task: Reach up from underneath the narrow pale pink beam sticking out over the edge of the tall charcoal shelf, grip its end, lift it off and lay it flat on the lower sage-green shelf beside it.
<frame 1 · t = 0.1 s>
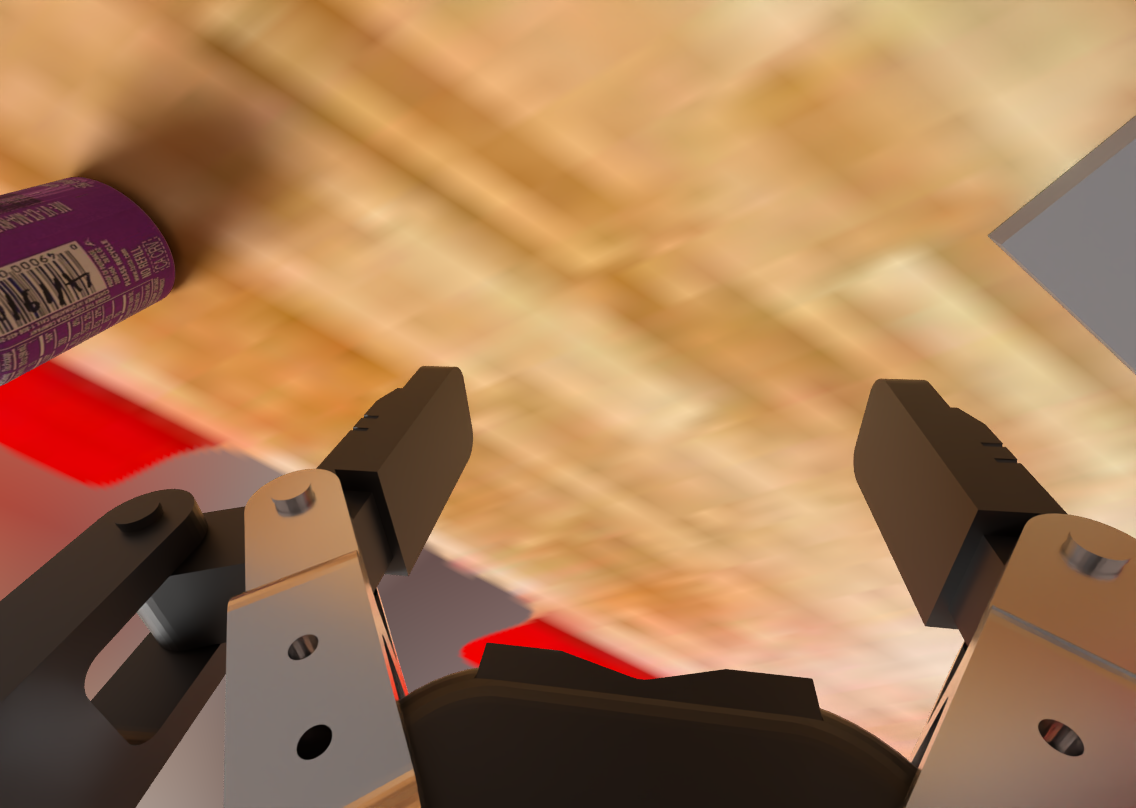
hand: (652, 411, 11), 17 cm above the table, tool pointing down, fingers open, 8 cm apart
beverage can: (126, 238, 31), on the table
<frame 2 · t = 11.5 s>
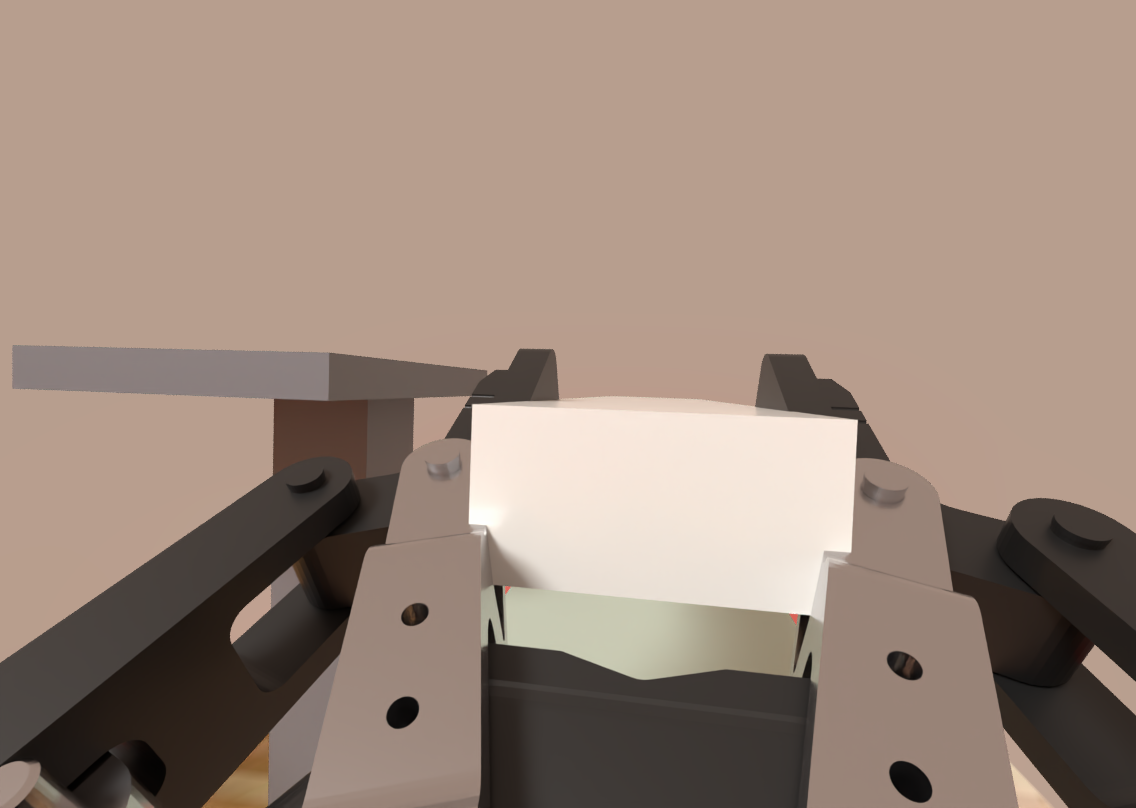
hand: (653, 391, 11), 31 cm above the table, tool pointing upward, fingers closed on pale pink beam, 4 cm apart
pale pink beam: (651, 468, 17), point 29 cm above the table, touching gripper
when the fingers open (26 cm above the table, at t = 13.2 s): pale pink beam drops 1 cm, resting on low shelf.
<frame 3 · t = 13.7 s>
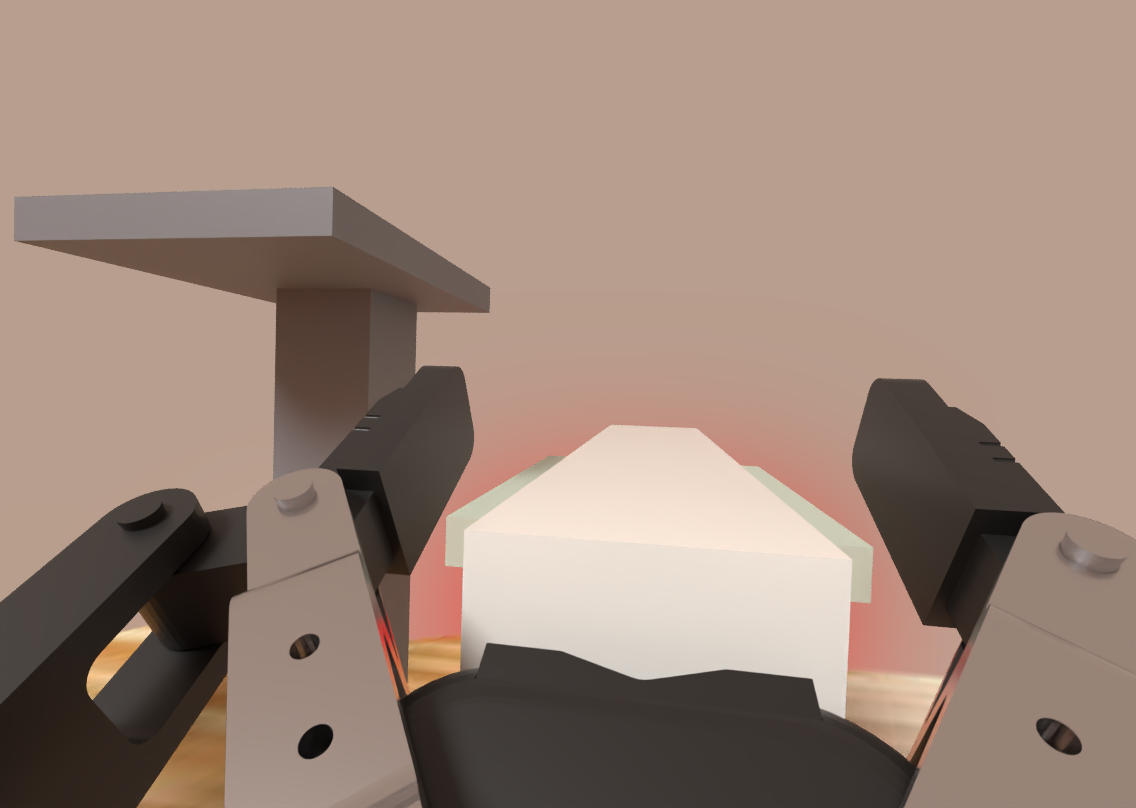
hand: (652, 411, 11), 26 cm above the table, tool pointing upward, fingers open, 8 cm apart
pale pink beam: (649, 516, 17), point 22 cm above the table, touching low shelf
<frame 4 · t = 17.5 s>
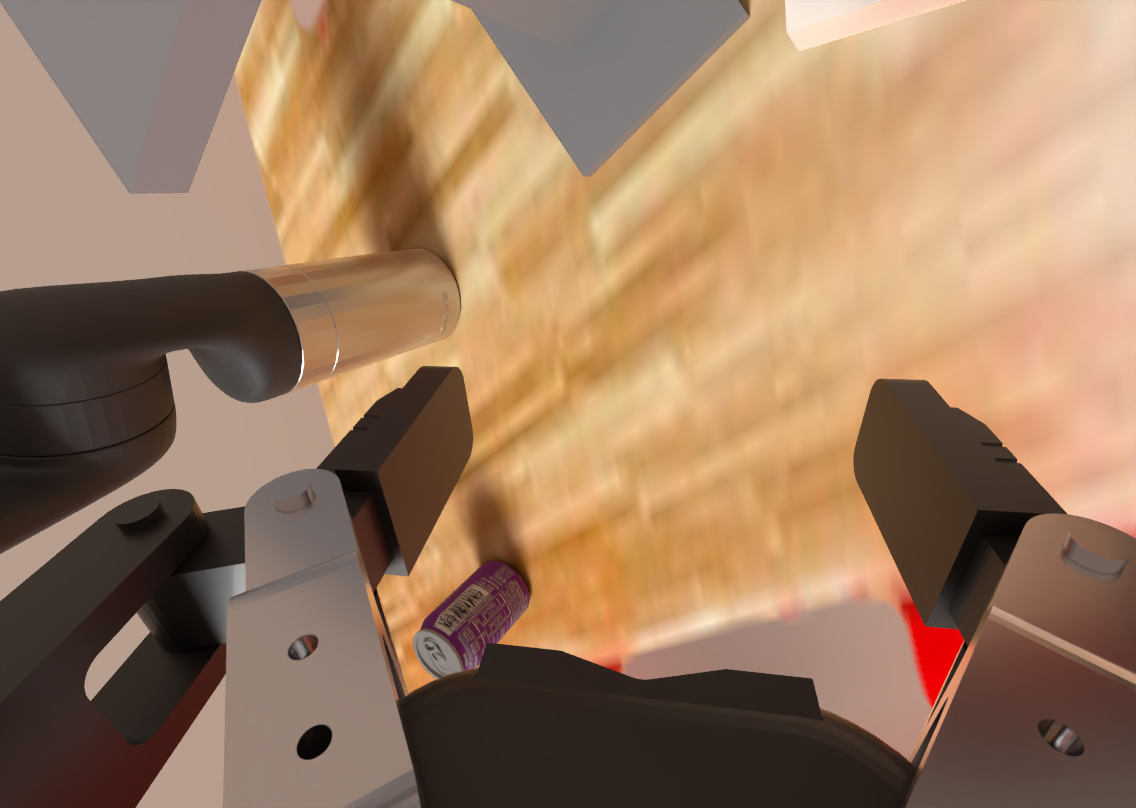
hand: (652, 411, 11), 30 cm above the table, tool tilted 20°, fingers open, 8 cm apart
beverage can: (508, 582, 62), on the table
high shelf: (613, 33, 37), on the table
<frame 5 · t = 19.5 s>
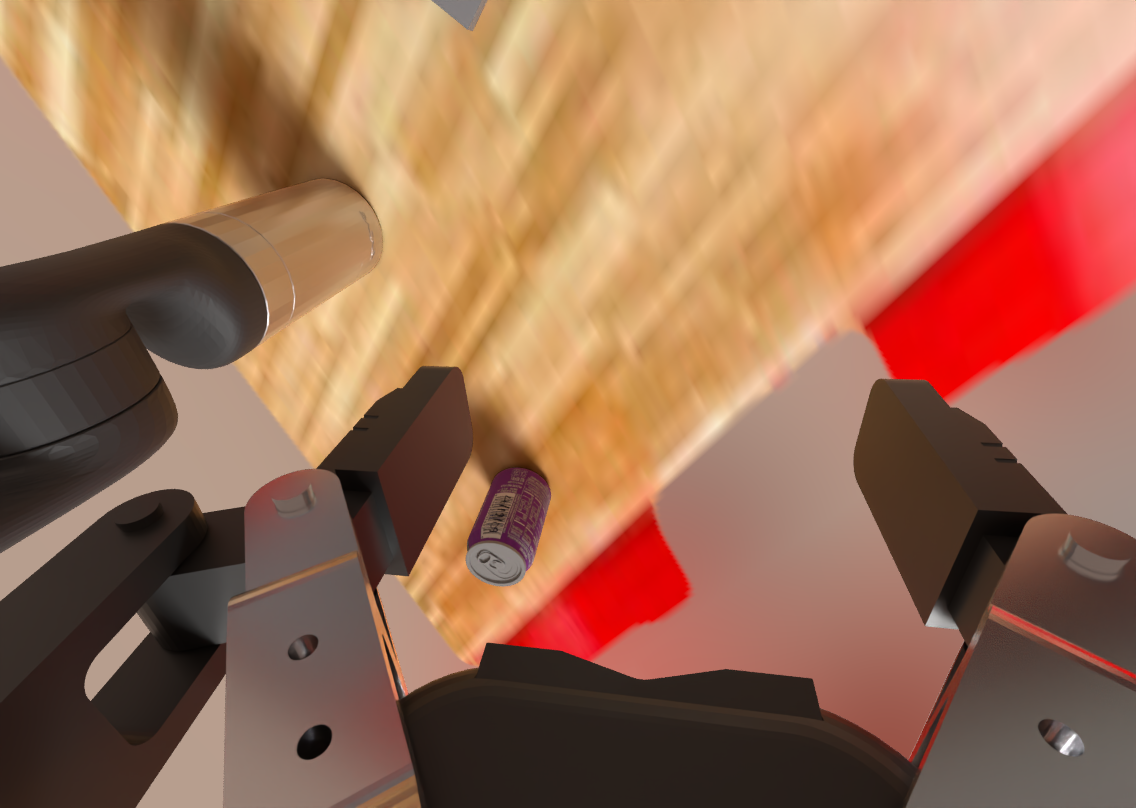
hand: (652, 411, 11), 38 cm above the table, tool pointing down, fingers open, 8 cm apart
beverage can: (523, 486, 63), on the table
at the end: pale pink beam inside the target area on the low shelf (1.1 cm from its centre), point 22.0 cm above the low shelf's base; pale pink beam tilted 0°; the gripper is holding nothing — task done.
